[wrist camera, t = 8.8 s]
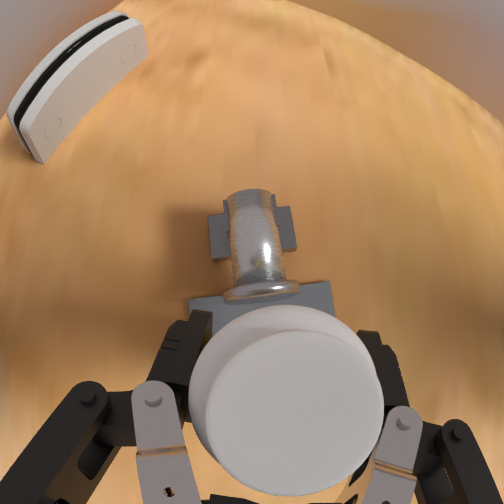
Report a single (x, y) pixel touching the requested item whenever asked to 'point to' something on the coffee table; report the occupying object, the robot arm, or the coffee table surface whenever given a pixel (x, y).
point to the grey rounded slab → (74, 81)
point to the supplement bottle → (286, 400)
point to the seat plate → (265, 304)
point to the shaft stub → (254, 246)
